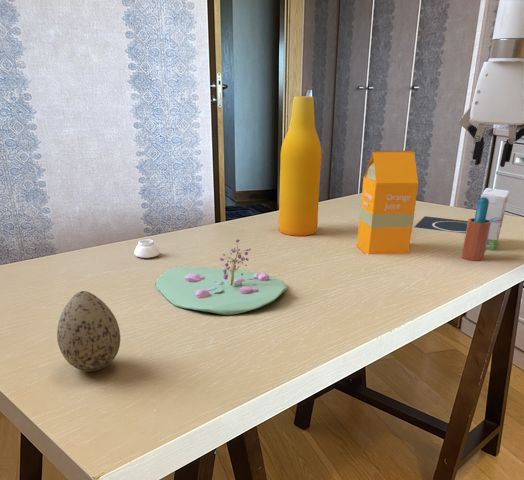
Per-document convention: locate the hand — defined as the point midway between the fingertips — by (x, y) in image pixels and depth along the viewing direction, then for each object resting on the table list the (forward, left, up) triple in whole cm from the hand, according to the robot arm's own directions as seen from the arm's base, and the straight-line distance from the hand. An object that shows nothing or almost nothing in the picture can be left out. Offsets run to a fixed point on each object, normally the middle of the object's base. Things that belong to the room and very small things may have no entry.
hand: (490, 164), depth 99 cm
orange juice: (+18, +2, -19) cm, 26 cm away
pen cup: (0, 0, -19) cm, 19 cm away
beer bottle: (+40, -4, -19) cm, 44 cm away
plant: (+37, +39, -19) cm, 57 cm away
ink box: (-1, -12, -19) cm, 22 cm away
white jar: (+59, +29, -19) cm, 68 cm away
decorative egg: (+36, +70, -19) cm, 81 cm away
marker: (0, 0, -18) cm, 18 cm away
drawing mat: (+7, -26, -19) cm, 33 cm away
